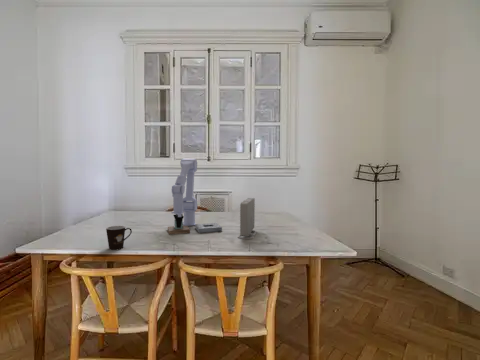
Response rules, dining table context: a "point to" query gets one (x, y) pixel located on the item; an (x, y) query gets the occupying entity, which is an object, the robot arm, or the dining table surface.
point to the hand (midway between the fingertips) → (178, 226)
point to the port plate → (208, 227)
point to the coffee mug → (116, 236)
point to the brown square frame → (178, 230)
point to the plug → (176, 225)
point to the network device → (247, 218)
